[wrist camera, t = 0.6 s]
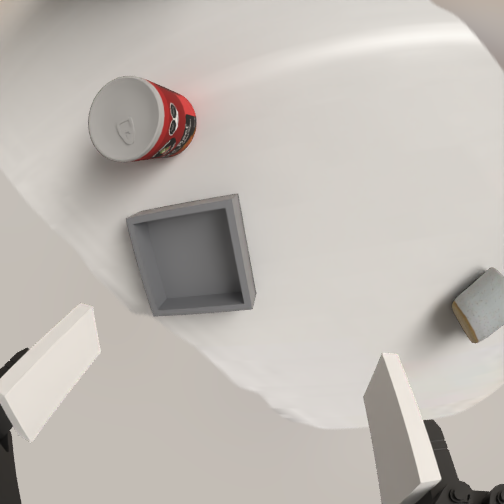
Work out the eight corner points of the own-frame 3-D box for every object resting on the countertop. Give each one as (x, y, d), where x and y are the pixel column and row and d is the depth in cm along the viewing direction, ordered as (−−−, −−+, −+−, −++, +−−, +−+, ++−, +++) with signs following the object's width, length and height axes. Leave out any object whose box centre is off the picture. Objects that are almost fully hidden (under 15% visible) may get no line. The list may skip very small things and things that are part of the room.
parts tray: (140, 211, 38) (125, 218, 34) (238, 193, 36) (231, 199, 32) (164, 301, 42) (153, 316, 38) (256, 293, 39) (252, 309, 36)
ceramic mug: (441, 295, 37) (466, 325, 29) (484, 258, 34) (514, 281, 27) (466, 340, 38) (487, 370, 31) (503, 307, 36) (529, 332, 29)
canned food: (162, 169, 36) (116, 180, 25) (127, 121, 34) (74, 117, 24) (212, 129, 34) (179, 122, 23) (173, 79, 32) (130, 58, 22)
